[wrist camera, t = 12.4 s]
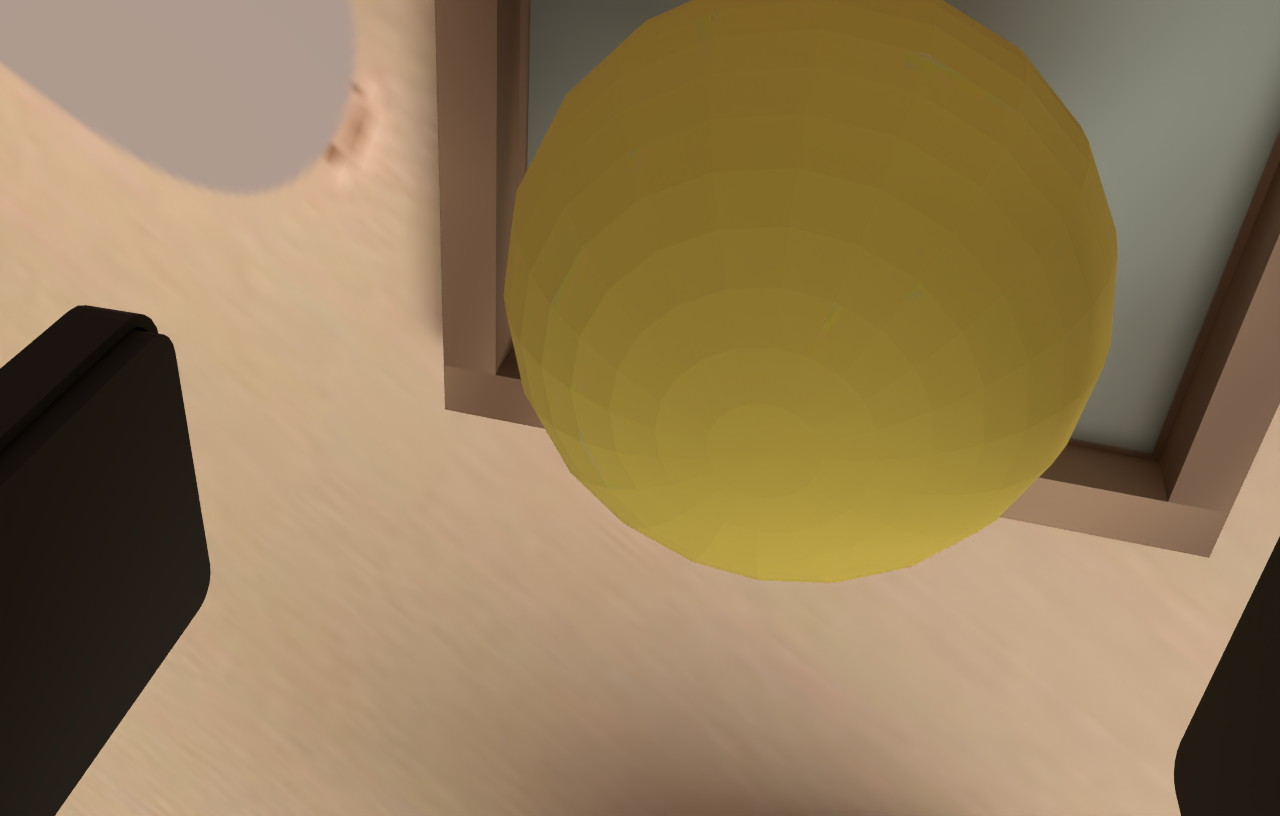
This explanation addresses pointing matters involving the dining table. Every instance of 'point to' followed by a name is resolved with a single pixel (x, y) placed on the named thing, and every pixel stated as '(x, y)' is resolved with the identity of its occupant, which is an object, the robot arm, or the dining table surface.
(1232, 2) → the tray
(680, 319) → the light bulb
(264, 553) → the dining table surface
